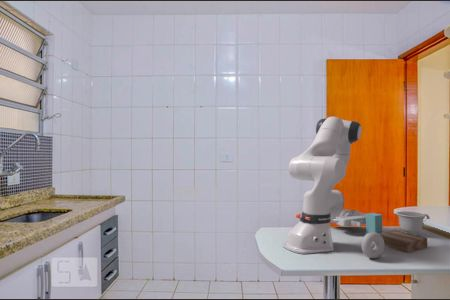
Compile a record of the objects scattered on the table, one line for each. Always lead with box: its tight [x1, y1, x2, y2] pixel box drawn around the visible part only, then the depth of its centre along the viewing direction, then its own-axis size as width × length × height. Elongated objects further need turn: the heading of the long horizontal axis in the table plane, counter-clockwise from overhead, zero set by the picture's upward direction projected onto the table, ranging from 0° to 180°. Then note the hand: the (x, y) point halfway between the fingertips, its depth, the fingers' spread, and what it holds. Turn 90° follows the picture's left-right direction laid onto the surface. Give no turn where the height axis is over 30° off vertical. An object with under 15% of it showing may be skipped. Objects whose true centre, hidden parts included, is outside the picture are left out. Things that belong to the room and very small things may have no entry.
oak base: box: [379, 230, 428, 253], centre depth 128 cm, size 14×14×4 cm
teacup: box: [396, 211, 431, 236], centre depth 145 cm, size 12×15×10 cm
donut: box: [361, 232, 386, 259], centre depth 113 cm, size 10×3×10 cm, turn 109°
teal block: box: [365, 212, 384, 235], centre depth 140 cm, size 5×5×11 cm
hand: (367, 223), depth 143 cm, fingers open, 8 cm apart
